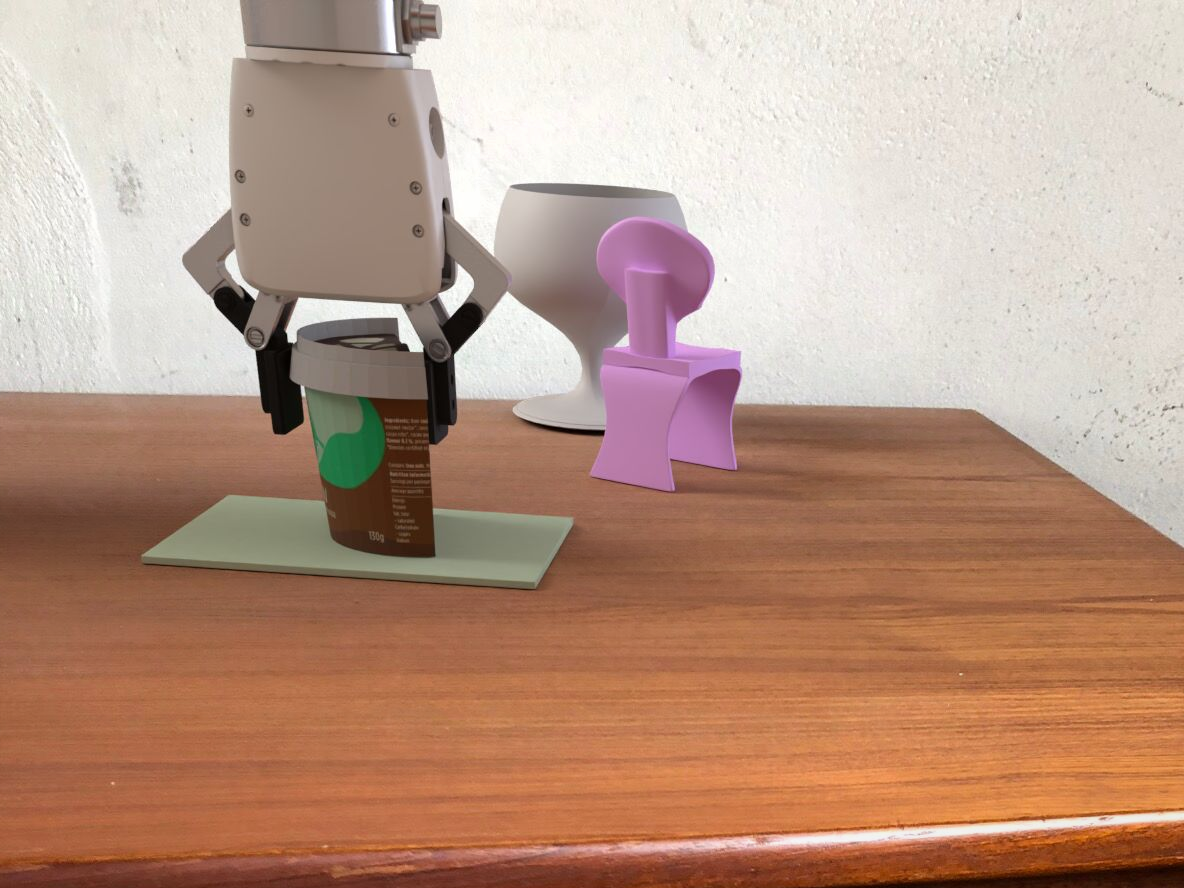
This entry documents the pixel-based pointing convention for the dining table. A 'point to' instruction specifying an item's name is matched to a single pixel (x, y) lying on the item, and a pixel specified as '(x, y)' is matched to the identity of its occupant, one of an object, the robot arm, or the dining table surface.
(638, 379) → the toy chair
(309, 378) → the food container
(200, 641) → the dining table surface
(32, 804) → the dining table surface
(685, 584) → the dining table surface
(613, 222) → the chalice
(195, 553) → the mat
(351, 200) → the robot arm
